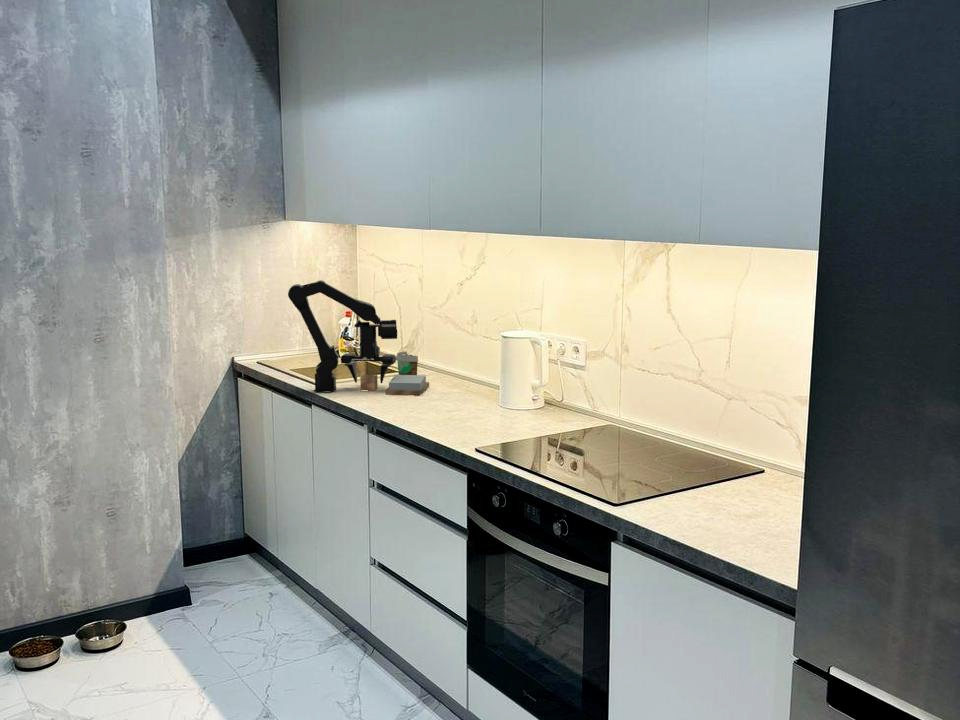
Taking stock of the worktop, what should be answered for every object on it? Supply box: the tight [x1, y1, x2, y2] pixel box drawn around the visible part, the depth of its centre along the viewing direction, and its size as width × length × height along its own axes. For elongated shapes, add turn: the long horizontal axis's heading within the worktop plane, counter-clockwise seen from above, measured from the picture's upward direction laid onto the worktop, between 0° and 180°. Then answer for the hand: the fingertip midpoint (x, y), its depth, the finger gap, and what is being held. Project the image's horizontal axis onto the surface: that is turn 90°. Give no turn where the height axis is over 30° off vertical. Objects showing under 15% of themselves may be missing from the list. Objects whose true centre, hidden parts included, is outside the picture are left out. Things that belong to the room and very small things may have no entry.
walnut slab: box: [385, 381, 430, 397], centre depth 347 cm, size 12×16×2 cm
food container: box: [395, 351, 419, 375], centre depth 365 cm, size 12×6×10 cm, turn 25°
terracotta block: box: [359, 374, 379, 392], centre depth 348 cm, size 5×5×5 cm
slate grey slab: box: [388, 374, 427, 390], centre depth 346 cm, size 11×15×2 cm
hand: (368, 382), depth 348 cm, fingers open, 9 cm apart
